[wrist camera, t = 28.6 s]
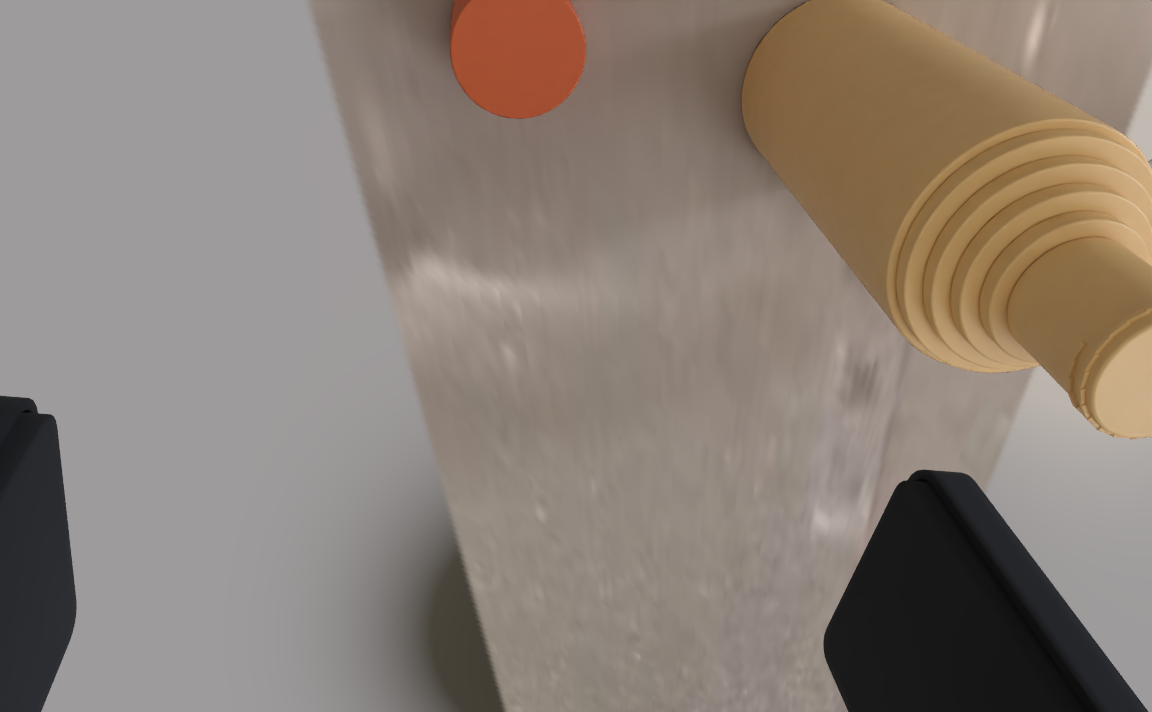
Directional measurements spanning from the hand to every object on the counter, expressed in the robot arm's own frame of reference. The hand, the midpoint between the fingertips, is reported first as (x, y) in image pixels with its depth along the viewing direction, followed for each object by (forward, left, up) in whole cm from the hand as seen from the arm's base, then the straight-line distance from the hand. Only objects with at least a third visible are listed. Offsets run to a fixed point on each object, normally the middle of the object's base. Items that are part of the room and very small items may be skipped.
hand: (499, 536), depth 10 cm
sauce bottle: (+9, +9, -23) cm, 26 cm away
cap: (+1, +1, -23) cm, 23 cm away
